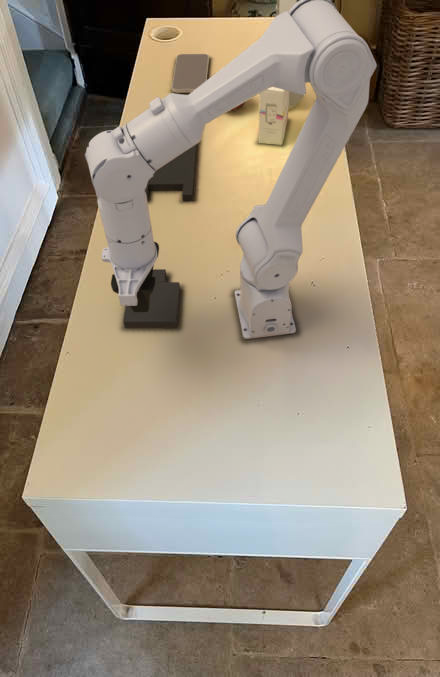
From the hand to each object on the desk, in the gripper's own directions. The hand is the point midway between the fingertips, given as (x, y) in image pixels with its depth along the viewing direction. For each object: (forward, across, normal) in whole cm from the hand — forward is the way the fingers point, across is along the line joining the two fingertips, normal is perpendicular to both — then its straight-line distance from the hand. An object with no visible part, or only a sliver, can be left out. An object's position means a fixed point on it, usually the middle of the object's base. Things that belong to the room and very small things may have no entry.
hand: (142, 299), depth 84 cm
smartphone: (+8, -73, +2) cm, 73 cm away
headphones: (+9, -68, +23) cm, 73 cm away
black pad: (+8, -42, 0) cm, 42 cm away
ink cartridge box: (+9, -51, +20) cm, 56 cm away
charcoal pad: (+8, -7, 0) cm, 11 cm away
